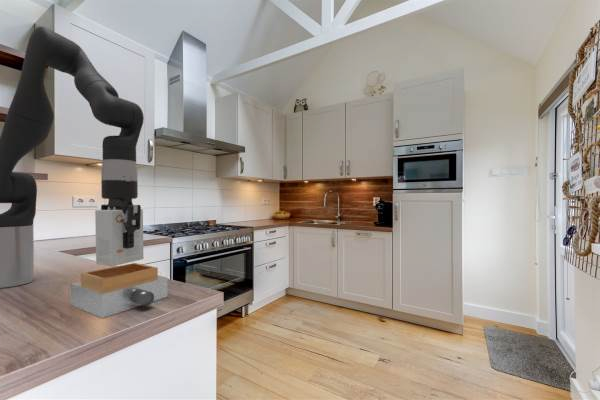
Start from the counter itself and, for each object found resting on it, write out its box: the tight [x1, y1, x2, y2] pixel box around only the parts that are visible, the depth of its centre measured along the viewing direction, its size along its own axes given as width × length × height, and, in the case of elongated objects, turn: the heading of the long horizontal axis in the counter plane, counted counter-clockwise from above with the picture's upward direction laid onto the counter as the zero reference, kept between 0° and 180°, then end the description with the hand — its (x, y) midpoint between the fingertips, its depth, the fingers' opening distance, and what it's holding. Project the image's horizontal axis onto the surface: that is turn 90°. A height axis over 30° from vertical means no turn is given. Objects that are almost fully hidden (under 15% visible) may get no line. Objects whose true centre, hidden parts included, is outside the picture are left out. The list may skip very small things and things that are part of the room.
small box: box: [94, 208, 144, 267], centre depth 70 cm, size 8×6×13 cm
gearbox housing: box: [70, 262, 168, 319], centre depth 69 cm, size 19×15×8 cm
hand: (120, 246), depth 70 cm, fingers closed on small box, 6 cm apart
